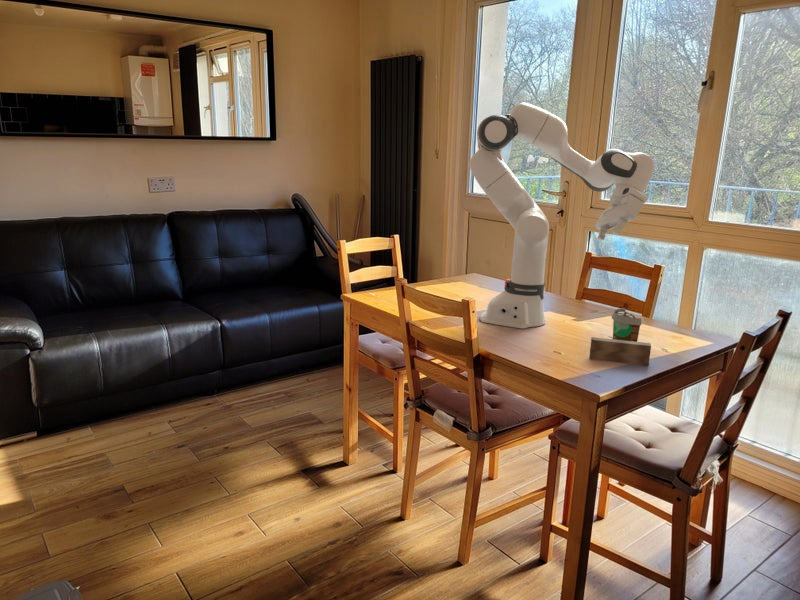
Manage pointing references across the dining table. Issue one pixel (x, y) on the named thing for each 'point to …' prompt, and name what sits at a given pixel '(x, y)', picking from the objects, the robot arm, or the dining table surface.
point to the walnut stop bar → (620, 351)
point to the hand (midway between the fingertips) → (607, 236)
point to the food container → (625, 325)
